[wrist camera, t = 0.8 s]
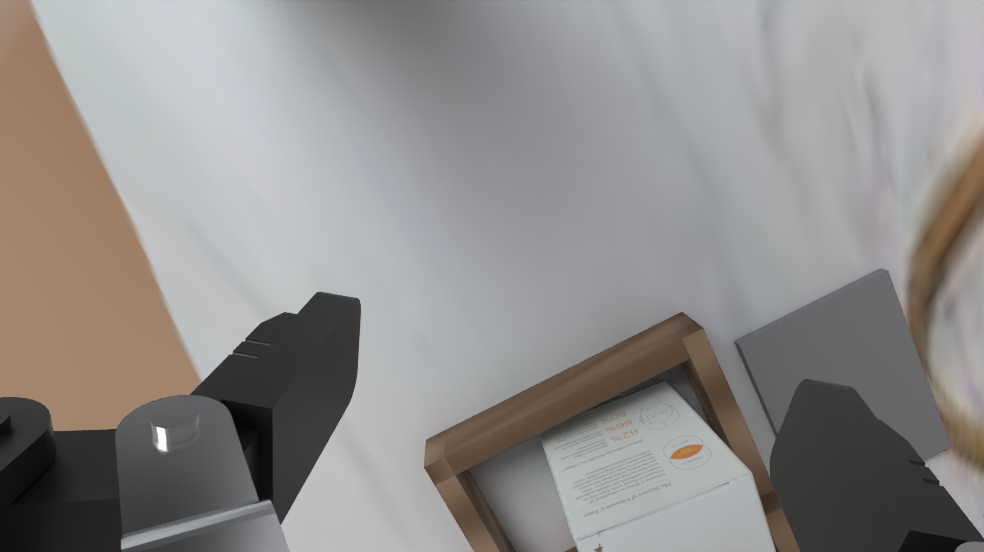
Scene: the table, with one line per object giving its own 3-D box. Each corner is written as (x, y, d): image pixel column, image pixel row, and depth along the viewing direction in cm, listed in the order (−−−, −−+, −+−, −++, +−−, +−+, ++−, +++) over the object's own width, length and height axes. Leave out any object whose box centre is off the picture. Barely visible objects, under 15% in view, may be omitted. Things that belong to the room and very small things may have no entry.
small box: (567, 507, 37) (612, 649, 27) (535, 426, 36) (570, 543, 26) (695, 459, 37) (789, 583, 27) (667, 376, 36) (755, 473, 25)
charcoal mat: (734, 341, 35) (739, 344, 35) (880, 268, 35) (888, 270, 34) (806, 508, 38) (812, 513, 38) (943, 442, 38) (951, 447, 37)
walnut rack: (426, 440, 36) (423, 467, 33) (681, 312, 35) (703, 328, 32) (575, 694, 40) (585, 738, 37) (805, 584, 39) (833, 620, 36)
